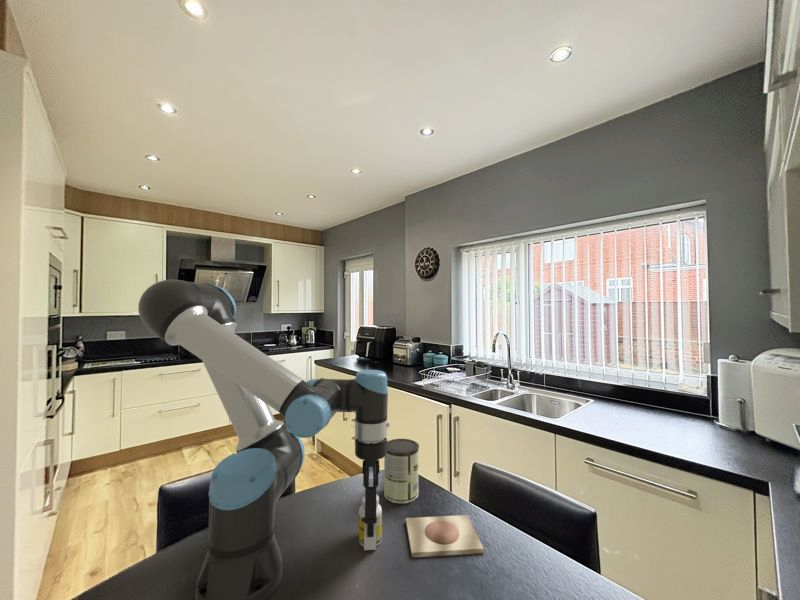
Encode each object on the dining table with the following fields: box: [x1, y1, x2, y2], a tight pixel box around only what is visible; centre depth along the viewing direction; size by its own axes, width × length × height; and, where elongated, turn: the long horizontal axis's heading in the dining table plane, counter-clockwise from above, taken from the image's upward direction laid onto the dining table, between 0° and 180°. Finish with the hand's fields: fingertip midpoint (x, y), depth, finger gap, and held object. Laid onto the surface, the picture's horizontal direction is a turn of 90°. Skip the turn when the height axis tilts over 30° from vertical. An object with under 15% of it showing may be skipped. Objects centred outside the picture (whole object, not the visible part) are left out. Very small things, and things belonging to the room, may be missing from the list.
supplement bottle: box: [358, 493, 383, 548], centre depth 75 cm, size 5×5×10 cm
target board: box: [405, 514, 485, 558], centre depth 77 cm, size 16×12×1 cm
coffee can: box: [383, 438, 420, 505], centre depth 95 cm, size 10×10×14 cm
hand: (370, 539), depth 75 cm, fingers closed on supplement bottle, 5 cm apart
